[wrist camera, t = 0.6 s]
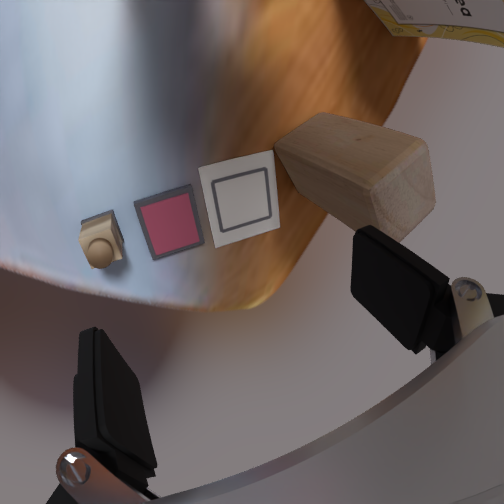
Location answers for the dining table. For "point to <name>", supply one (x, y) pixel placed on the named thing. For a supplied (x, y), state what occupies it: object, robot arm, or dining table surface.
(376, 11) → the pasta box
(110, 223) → the stamp
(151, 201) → the ink pad
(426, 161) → the wooden block
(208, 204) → the paper sheet
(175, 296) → the dining table surface
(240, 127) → the dining table surface
